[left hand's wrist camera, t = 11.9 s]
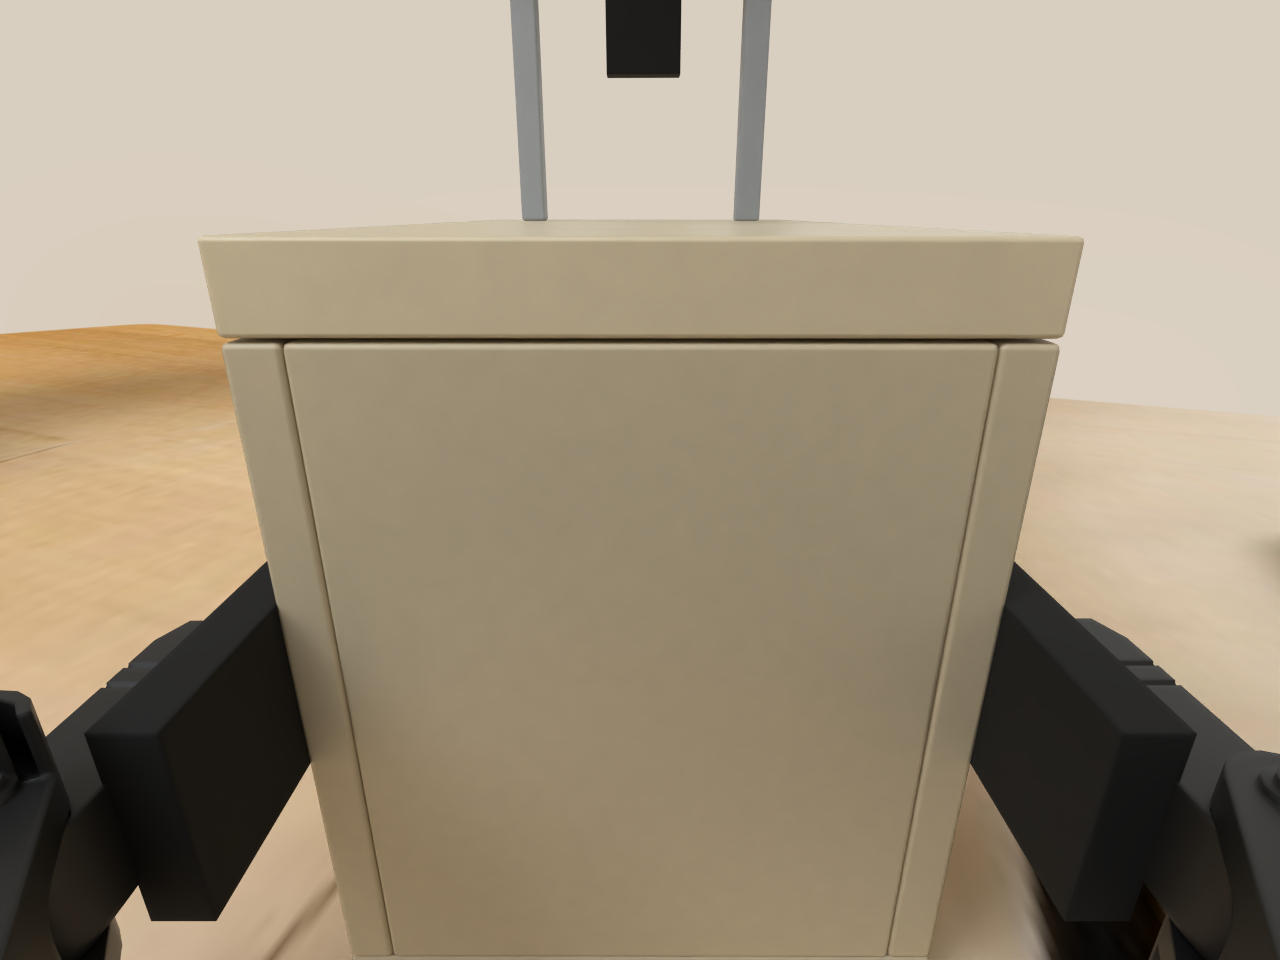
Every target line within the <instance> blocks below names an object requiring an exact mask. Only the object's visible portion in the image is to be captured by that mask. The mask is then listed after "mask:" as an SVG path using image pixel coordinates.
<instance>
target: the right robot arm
mask: <svg viewBox="0 0 1280 960" xmlns="http://www.w3.org/2000/svg"><path fill="white" fill-rule="evenodd" d="M680 50H681V0H606V52H607V77H608V78H679V76H680Z"/></svg>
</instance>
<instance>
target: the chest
mask: <svg viewBox="0 0 1280 960" xmlns="http://www.w3.org/2000/svg"><path fill="white" fill-rule="evenodd" d="M222 353H223V358H224V362H225V367H226V372H227V376H228V381H229V386H230V390H231V395H232V400H233V404H234V409H235V413H236V418H237V423H238V427H239V432H240V437H241V441H242V446H243V451H244V455H245V460H246V465H247V469H248V474H249V479H250V483H251V488H252V492H253V497H254V502H255V506H256V511H257V516H258V520H259V525H260V530H261V534H262V539H263V544H264V548H265V553H266V557H267V562H268V567H269V571H270V576H271V581H272V585H273V590H274V595H275V599H276V604H277V608H278V613H279V618H280V622H281V627H282V631H283V636H284V641H285V645H286V650H287V655H288V659H289V664H290V669H291V673H292V678H293V682H294V687H295V692H296V696H297V701H298V706H299V710H300V715H301V720H302V724H303V729H304V733H305V738H306V743H307V747H308V752H309V757H310V761H311V766H312V771H313V776H314V780H315V785H316V790H317V794H318V799H319V804H320V808H321V813H322V818H323V822H324V827H325V832H326V836H327V841H328V845H329V850H330V855H331V859H332V864H333V869H334V873H335V878H336V883H337V887H338V892H339V897H340V901H341V906H342V910H343V915H344V920H345V924H346V929H347V934H348V938H349V943H350V948H351V952H352V954H353V960H928V957H927V955H928V954H929V950H930V945H931V941H932V936H933V932H934V927H935V922H936V918H937V913H938V909H939V904H940V899H941V895H942V890H943V886H944V881H945V876H946V872H947V867H948V863H949V858H950V853H951V849H952V844H953V840H954V835H955V830H956V826H957V821H958V817H959V812H960V807H961V803H962V798H963V794H964V789H965V784H966V780H967V775H968V770H969V766H970V761H971V757H972V752H973V747H974V743H975V738H976V733H977V729H978V724H979V720H980V715H981V710H982V706H983V701H984V697H985V692H986V687H987V683H988V678H989V673H990V669H991V664H992V660H993V655H994V650H995V646H996V641H997V637H998V632H999V627H1000V623H1001V618H1002V613H1003V609H1004V605H1005V600H1006V596H1007V591H1008V586H1009V582H1010V577H1011V573H1012V568H1013V563H1014V559H1015V554H1016V549H1017V545H1018V540H1019V536H1020V531H1021V526H1022V522H1023V517H1024V513H1025V508H1026V503H1027V499H1028V494H1029V490H1030V485H1031V480H1032V476H1033V471H1034V467H1035V462H1036V457H1037V453H1038V448H1039V444H1040V439H1041V434H1042V430H1043V425H1044V421H1045V416H1046V411H1047V407H1048V402H1049V398H1050V393H1051V388H1052V383H1053V379H1054V375H1055V370H1056V365H1057V361H1058V356H1059V346H1058V345H1057V344H1054V343H1052V342H1049V341H1046V340H1043V339H767V338H240V339H237V340H234V341H231V342H228V343H226V344H224V345H223V347H222Z"/></svg>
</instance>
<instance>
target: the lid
mask: <svg viewBox="0 0 1280 960" xmlns="http://www.w3.org/2000/svg"><path fill="white" fill-rule="evenodd" d="M771 1H772V0H744V1H743V23H742V45H741V67H740V88H739V110H738V132H737V154H736V176H735V198H734V220H547V218H548V216H547V193H546V170H545V147H544V126H543V103H542V79H541V57H540V34H539V11H538V0H510V6H511V24H512V42H513V60H514V77H515V95H516V112H517V130H518V148H519V166H520V184H521V202H522V218H523V220H487V221H468V222H450V223H431V224H412V225H393V226H375V227H356V228H337V229H319V230H300V231H281V232H263V233H244V234H225V235H206V236H202V237H200V238H199V239H198V245H199V249H200V254H201V259H202V263H203V268H204V273H205V277H206V282H207V287H208V291H209V296H210V301H211V305H212V310H213V314H214V319H215V324H216V328H217V333H218V335H219V336H220V337H223V338H767V339H1057V338H1060V337H1062V336H1063V334H1064V332H1065V327H1066V323H1067V318H1068V314H1069V309H1070V305H1071V300H1072V295H1073V291H1074V286H1075V282H1076V277H1077V272H1078V268H1079V263H1080V258H1081V254H1082V249H1083V245H1084V240H1083V238H1081V237H1079V236H1066V235H1048V234H1030V233H1011V232H993V231H975V230H955V229H938V228H920V227H901V226H882V225H864V224H846V223H828V222H809V221H791V220H759V209H760V191H761V174H762V157H763V140H764V122H765V105H766V88H767V70H768V53H769V36H770V19H771Z"/></svg>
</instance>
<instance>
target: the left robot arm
mask: <svg viewBox="0 0 1280 960" xmlns="http://www.w3.org/2000/svg"><path fill="white" fill-rule="evenodd" d="M310 763H311V761H310V757H309V752H308V747H307V743H306V738H305V733H304V729H303V724H302V720H301V715H300V710H299V706H298V701H297V696H296V692H295V687H294V682H293V678H292V673H291V669H290V664H289V659H288V655H287V650H286V645H285V641H284V636H283V631H282V627H281V622H280V618H279V613H278V608H277V604H276V599H275V595H274V590H273V585H272V581H271V576H270V571H269V567H268V562H266V563H265V564H263V565H262V566H261V567H260V568H259V569H258V570H257V571H256V572H255V573H254V574H253V575H252V576H251V577H250V578H249V579H248V580H246V581H245V582H244V583H243V584H242V585H241V586H240V587H239V588H238V589H237V590H236V591H235V592H234V593H233V594H232V595H230V596H229V597H228V598H227V599H226V600H225V601H224V602H223V603H222V604H221V605H220V606H219V607H218V608H217V609H216V610H215V611H213V612H212V613H211V614H210V615H209V616H208V617H207V618H206V619H205V620H204V621H189V622H187V623H186V624H184V625H182V626H180V627H178V628H176V629H175V630H173V631H171V632H169V633H167V634H165V635H164V636H162V637H160V638H158V639H156V640H155V641H153V642H152V643H151V644H150V645H149V646H148V647H147V648H146V649H144V650H143V651H142V652H141V653H140V654H139V655H138V656H137V657H135V658H134V659H133V660H132V661H131V662H130V663H129V666H128V668H123V669H122V670H121V671H120V672H118V673H117V674H116V675H115V676H114V677H113V678H112V679H111V680H109V681H108V682H107V686H106V688H100V689H99V690H98V691H97V692H96V693H95V694H94V695H92V696H91V697H90V698H89V699H88V700H87V701H86V702H85V703H83V704H82V705H81V706H80V707H79V708H78V709H77V710H76V711H74V712H73V713H72V714H71V715H70V716H69V717H68V718H67V719H65V720H64V721H63V722H62V723H61V724H60V725H59V726H58V727H56V728H55V729H54V730H53V731H52V732H51V733H50V734H48V735H47V736H46V737H45V735H44V732H43V729H42V727H41V724H40V722H39V719H38V717H37V714H36V711H35V709H34V706H33V704H32V701H31V698H29V697H27V696H25V695H24V694H22V693H20V692H18V691H3V690H0V960H120V957H121V949H122V941H121V935H120V929H119V927H118V924H117V921H116V919H115V916H116V914H117V913H118V912H119V910H120V909H121V908H122V906H123V905H124V904H125V902H126V901H127V899H128V898H129V897H130V895H131V894H132V893H133V891H134V890H135V889H136V887H137V886H138V885H139V888H140V891H141V894H142V897H143V899H144V902H145V905H146V908H147V910H148V913H149V916H150V919H151V921H217V919H218V917H219V916H220V914H221V912H222V911H223V909H224V907H225V906H226V904H227V902H228V901H229V899H230V897H231V896H232V894H233V892H234V891H235V889H236V887H237V886H238V884H239V882H240V881H241V879H242V877H243V875H244V874H245V872H246V870H247V869H248V867H249V865H250V864H251V862H252V860H253V859H254V857H255V855H256V854H257V852H258V850H259V849H260V847H261V845H262V844H263V842H264V840H265V839H266V837H267V835H268V834H269V832H270V830H271V828H272V827H273V825H274V823H275V822H276V820H277V818H278V817H279V815H280V813H281V812H282V810H283V808H284V807H285V805H286V803H287V802H288V800H289V798H290V797H291V795H292V793H293V792H294V790H295V788H296V787H297V785H298V783H299V781H300V780H301V778H302V776H303V775H304V773H305V771H306V770H307V768H308V766H309V765H310ZM970 763H971V765H972V767H973V768H974V770H975V772H976V774H977V775H978V777H979V779H980V780H981V782H982V784H983V785H984V787H985V789H986V790H987V792H988V794H989V795H990V797H991V799H992V800H993V802H994V804H995V805H996V807H997V809H998V810H999V812H1000V814H1001V815H1002V817H1003V819H1004V820H1005V822H1006V824H1007V826H1008V827H1009V829H1010V831H1011V832H1012V834H1013V836H1014V837H1015V839H1016V841H1017V842H1018V844H1019V846H1020V847H1021V849H1022V851H1023V852H1024V854H1025V856H1026V857H1027V859H1028V861H1029V862H1030V864H1031V866H1032V867H1033V869H1034V871H1035V872H1036V874H1037V876H1038V878H1039V879H1040V881H1041V883H1042V884H1043V886H1044V888H1045V889H1046V891H1047V893H1048V894H1049V896H1050V898H1051V899H1052V901H1053V903H1054V904H1055V906H1056V908H1057V909H1058V911H1059V913H1060V914H1061V916H1062V918H1063V919H1064V921H1130V919H1131V916H1132V913H1133V910H1134V908H1135V905H1136V902H1137V899H1138V897H1139V894H1140V891H1141V888H1142V886H1143V883H1144V884H1145V885H1146V886H1147V888H1148V889H1149V890H1150V892H1151V893H1152V894H1153V896H1154V897H1155V898H1156V900H1157V901H1158V902H1159V904H1160V905H1161V907H1162V908H1163V909H1164V911H1165V912H1166V913H1167V914H1166V916H1165V919H1164V921H1163V924H1162V927H1161V929H1160V932H1159V934H1158V937H1157V940H1156V942H1155V945H1154V947H1153V950H1152V953H1151V955H1150V958H1149V960H1280V754H1276V753H1271V752H1266V751H1255V750H1254V749H1253V748H1251V747H1250V746H1249V745H1248V744H1247V743H1246V742H1245V741H1243V740H1242V739H1241V738H1240V737H1239V736H1238V735H1237V734H1235V733H1234V732H1233V731H1232V730H1231V729H1230V728H1229V727H1228V726H1226V725H1225V724H1224V723H1223V722H1222V721H1221V720H1220V719H1218V718H1217V717H1216V716H1215V715H1214V714H1213V713H1212V712H1210V711H1209V710H1208V709H1207V708H1206V707H1205V706H1204V705H1203V704H1201V703H1200V702H1199V701H1198V700H1197V699H1196V698H1195V697H1193V696H1192V695H1191V694H1190V693H1189V692H1188V691H1187V690H1185V689H1184V688H1183V687H1182V686H1181V685H1176V684H1175V680H1174V679H1173V678H1172V677H1171V676H1170V675H1168V674H1167V673H1166V672H1165V671H1164V670H1163V669H1162V668H1160V667H1159V666H1154V665H1153V661H1152V660H1151V659H1150V658H1149V657H1148V656H1147V655H1146V654H1145V653H1143V652H1142V651H1141V650H1140V649H1139V648H1138V647H1137V646H1135V645H1134V644H1133V643H1132V642H1131V641H1130V640H1129V639H1127V638H1126V637H1124V636H1122V635H1120V634H1119V633H1117V632H1115V631H1113V630H1111V629H1109V628H1108V627H1106V626H1104V625H1102V624H1100V623H1098V622H1097V621H1095V620H1093V619H1075V618H1074V617H1073V616H1072V615H1071V614H1069V613H1068V612H1067V611H1066V610H1065V609H1064V608H1063V607H1062V606H1061V605H1060V604H1059V603H1058V602H1057V601H1056V600H1055V599H1054V598H1052V597H1051V596H1050V595H1049V594H1048V593H1047V592H1046V591H1045V590H1044V589H1043V588H1042V587H1041V586H1040V585H1039V584H1038V583H1037V582H1035V581H1034V580H1033V579H1032V578H1031V577H1030V576H1029V575H1028V574H1027V573H1026V572H1025V571H1024V570H1023V569H1022V568H1021V567H1019V566H1018V565H1017V564H1016V563H1015V562H1014V563H1013V568H1012V573H1011V577H1010V582H1009V586H1008V591H1007V596H1006V600H1005V605H1004V609H1003V613H1002V618H1001V623H1000V627H999V632H998V637H997V641H996V646H995V650H994V655H993V660H992V664H991V669H990V673H989V678H988V683H987V687H986V692H985V697H984V701H983V706H982V710H981V715H980V720H979V724H978V729H977V733H976V738H975V743H974V747H973V752H972V757H971V761H970Z"/></svg>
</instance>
